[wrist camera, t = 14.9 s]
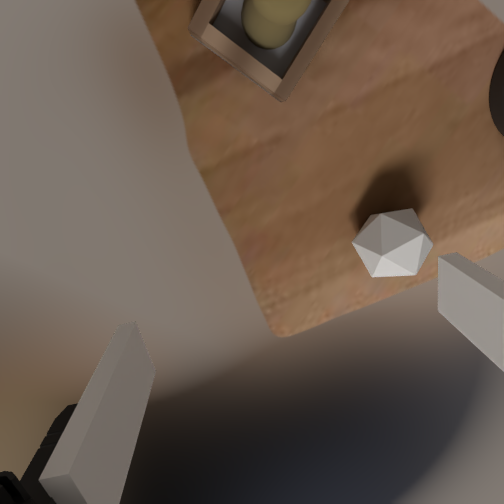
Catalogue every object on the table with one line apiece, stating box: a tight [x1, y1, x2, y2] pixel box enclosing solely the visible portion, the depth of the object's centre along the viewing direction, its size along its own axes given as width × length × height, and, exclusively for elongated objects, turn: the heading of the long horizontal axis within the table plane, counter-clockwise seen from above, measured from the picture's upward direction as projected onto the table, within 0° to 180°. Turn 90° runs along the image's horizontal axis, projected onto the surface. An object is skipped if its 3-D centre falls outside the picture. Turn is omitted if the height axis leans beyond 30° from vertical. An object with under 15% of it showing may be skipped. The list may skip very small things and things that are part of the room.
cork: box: [241, 0, 311, 50], centre depth 31 cm, size 6×6×11 cm
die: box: [352, 208, 433, 277], centre depth 43 cm, size 8×9×10 cm
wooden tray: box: [188, 0, 349, 102], centre depth 35 cm, size 12×12×4 cm
